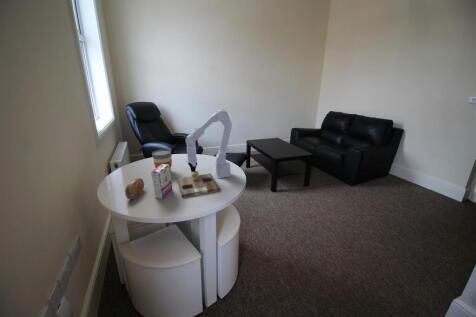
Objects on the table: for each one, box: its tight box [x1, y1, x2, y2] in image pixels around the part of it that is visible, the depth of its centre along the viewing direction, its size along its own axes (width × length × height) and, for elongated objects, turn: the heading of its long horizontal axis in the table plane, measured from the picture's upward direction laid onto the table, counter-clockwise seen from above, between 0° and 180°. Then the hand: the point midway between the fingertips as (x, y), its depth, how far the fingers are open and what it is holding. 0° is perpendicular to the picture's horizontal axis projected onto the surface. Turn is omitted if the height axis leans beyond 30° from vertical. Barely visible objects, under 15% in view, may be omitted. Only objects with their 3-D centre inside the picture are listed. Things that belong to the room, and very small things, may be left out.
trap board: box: [176, 173, 221, 198], centre depth 134 cm, size 22×22×2 cm
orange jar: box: [152, 149, 173, 174], centre depth 151 cm, size 13×13×15 cm
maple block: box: [190, 170, 200, 180], centre depth 139 cm, size 4×4×4 cm
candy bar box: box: [150, 164, 173, 200], centre depth 122 cm, size 11×5×16 cm, turn 168°
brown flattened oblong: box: [124, 178, 145, 200], centre depth 123 cm, size 15×3×8 cm, turn 174°
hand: (193, 172), depth 145 cm, fingers closed
